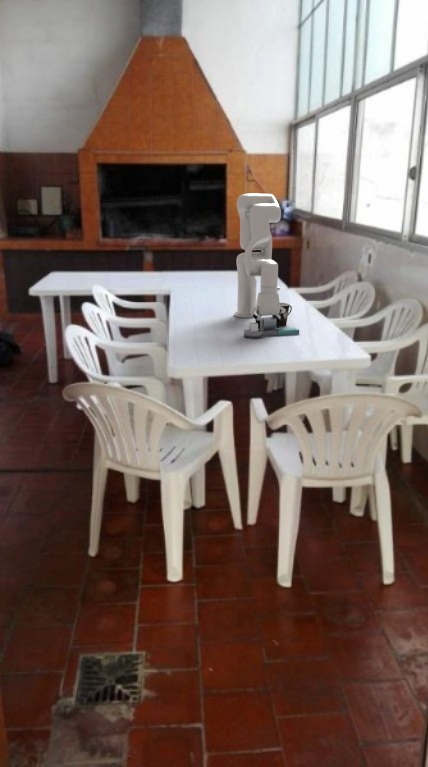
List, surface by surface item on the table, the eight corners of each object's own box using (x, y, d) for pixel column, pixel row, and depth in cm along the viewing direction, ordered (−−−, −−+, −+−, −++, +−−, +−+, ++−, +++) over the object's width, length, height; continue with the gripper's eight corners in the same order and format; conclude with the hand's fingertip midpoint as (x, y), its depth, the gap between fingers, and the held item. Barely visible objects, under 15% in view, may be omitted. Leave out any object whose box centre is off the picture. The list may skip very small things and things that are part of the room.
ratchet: (240, 334, 260) (241, 321, 258) (293, 331, 268) (294, 318, 266) (247, 339, 253) (247, 326, 251) (301, 335, 260) (302, 322, 258)
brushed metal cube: (258, 330, 270) (259, 317, 268) (270, 329, 271) (271, 316, 269) (263, 332, 264) (264, 319, 262) (275, 332, 266) (276, 319, 264)
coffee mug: (274, 327, 275) (275, 306, 272) (267, 323, 283) (268, 303, 280) (297, 326, 278) (298, 305, 275) (290, 322, 286) (291, 301, 282)
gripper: (283, 287, 268) (281, 325, 273) (247, 289, 263) (246, 327, 268) (290, 290, 261) (288, 328, 266) (253, 292, 256) (252, 330, 261)
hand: (267, 327), depth 267 cm, fingers open, 8 cm apart
